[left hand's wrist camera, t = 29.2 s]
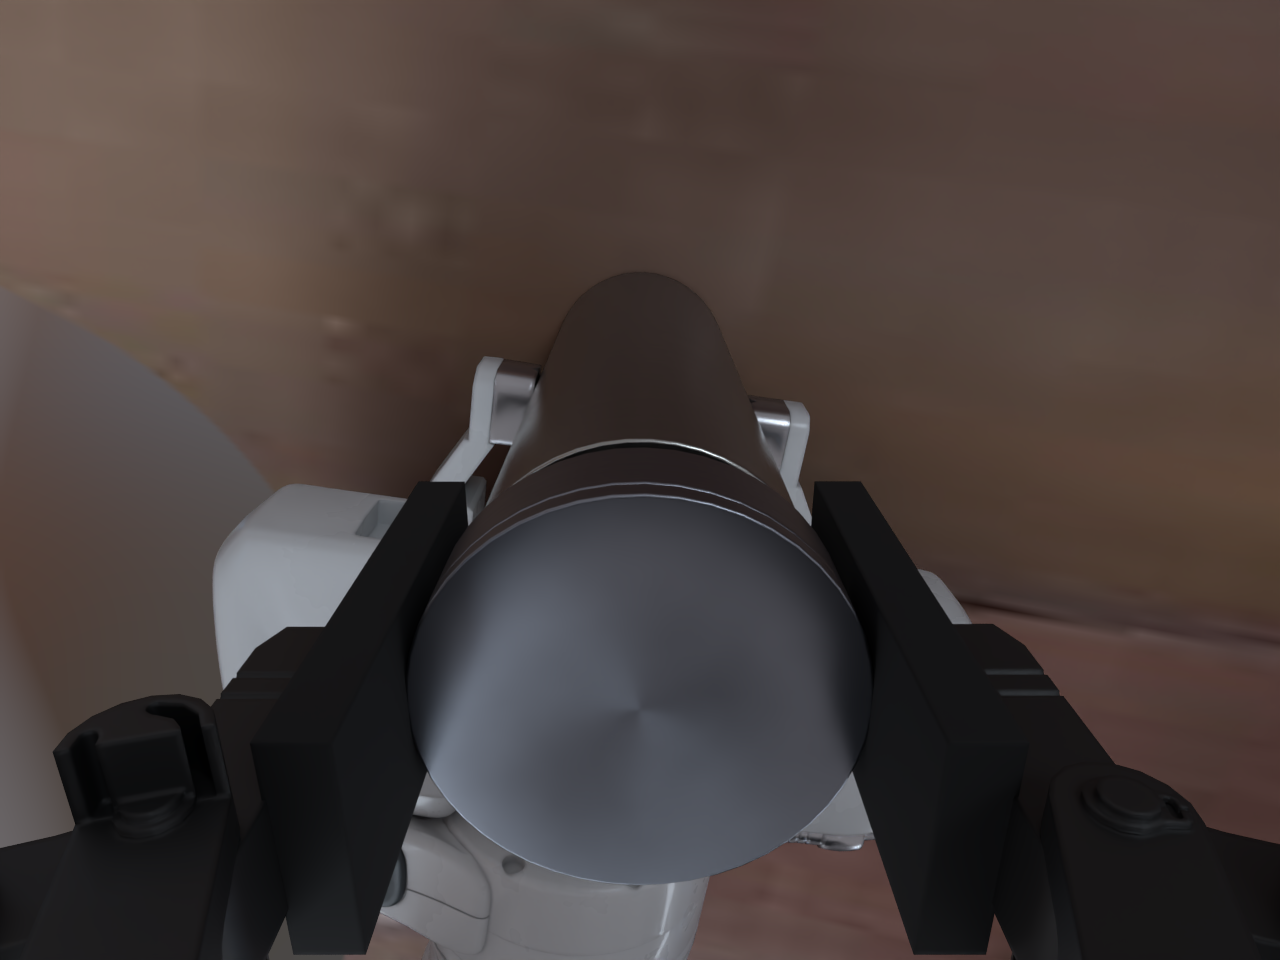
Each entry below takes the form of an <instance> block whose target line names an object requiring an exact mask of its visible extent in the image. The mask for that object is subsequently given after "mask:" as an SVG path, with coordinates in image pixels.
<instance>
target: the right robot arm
mask: <svg viewBox="0 0 1280 960" xmlns="http://www.w3.org/2000/svg"><path fill="white" fill-rule="evenodd" d="M540 376H541V365H538V364H532V363H526V362H520V361H514V360H508V359H503V358H497V357H487V356H484V357H483V359H482V360H481V361H480V363H479V364H478V366H477V369H476V373H475V378H474V383H473V390H472V402H471V415H470V427H469V428H468V429H467V431H466V432H465V433H464V435H463V436H462V437H461V438H460V440H459V441H458V442H457V444H456V445H455V446H454V448H453V449H452V450H451V452H450V453H449V454H448V456H447V457H446V458H445V460H444V461H443V462H442V464H441V465H440V466H439V468H438V469H437V470H436V472H435V474H434V475H433V477H432V478H431V480H430V482H465V491H466V503H467V515H468V526H469V524H470V523H471V522H472V521H473V520H474V519H475V518H476V517H477V516H478V515H479V514H480V513H481V512H482V510H483V509H484V508H485V496H486V483H487V481H486V480H485V479H484V477H480V476H473V475H472V474H473V472H474V471H475V470H476V468H477V467H478V466H479V464H480V463H481V462H482V460H483V459H484V458H485V456H486V455H487V454H488V453H489V451H490V450H491V449H492V447H493V446H494V444H503V445H512V442H513V440H514V438H515V435H516V433H517V431H518V428H519V426H520V423H521V421H522V419H523V416H524V414H525V412H526V409H527V407H528V405H529V402H530V400H531V397H532V395H533V393H534V390H535V388H536V386H537V383H538V381H539V379H540ZM747 396H748V398H749V400H750V403H751V405H752V408H753V410H754V412H755V415H756V417H757V419H758V422H759V424H760V426H761V429H762V431H763V434H764V436H765V438H766V441H767V443H768V445H769V448H770V450H771V453H772V455H773V457H774V460H775V462H776V464H777V467H778V469H779V472H780V474H781V476H782V479H783V481H784V483H785V486H786V488H787V491H788V493H789V495H790V498H791V500H792V502H793V505H794V507H795V509H796V510H798V511H799V513H800V514H801V515H802V516H803V517H804V518H805V520H806V521H807V522H808V523H809V524H810V526H811V521H812V517H811V514H810V511H809V508H808V505H807V502H806V499H805V496H804V493H803V491H802V488H801V486H800V483H799V481H798V479H799V475H800V470H801V466H802V462H803V458H804V453H805V449H806V445H807V440H808V436H809V432H810V415H809V413H808V411H807V410H806V408H805V407H804V405H803V403H801V402H794V401H787V400H781V399H773V398H766V397H758V396H751V395H747ZM406 501H407V499H405V498H398V497H391V496H384V495H376V494H369V493H362V492H355V491H348V490H340V489H333V488H326V487H319V486H312V485H305V484H289V485H287V486H284V487H282V488H280V489H279V490H277V491H276V492H275V493H274V494H272V495H271V496H270V497H269V498H267V499H266V500H265V501H264V502H262V503H261V504H260V505H259V506H257V507H256V508H255V509H254V510H252V511H251V512H250V513H249V514H248V515H247V516H246V517H245V518H244V519H243V520H242V521H241V522H240V523H239V524H238V525H237V526H236V527H235V529H234V530H233V531H232V532H231V533H230V534H229V535H228V537H227V538H226V539H225V541H224V542H223V544H222V546H221V547H220V549H219V551H218V553H217V556H216V559H215V562H214V568H213V611H214V623H215V635H216V644H217V653H218V660H219V667H220V674H221V680H222V686H223V690H224V689H225V687H226V686H227V685H228V684H229V682H230V681H231V680H232V678H236V676H237V672H238V670H239V669H240V668H241V666H242V665H243V664H244V662H245V661H246V660H247V658H248V657H249V656H250V654H251V653H252V652H253V650H254V649H255V648H256V647H258V646H259V645H261V644H262V643H264V642H265V641H266V640H268V639H269V638H271V637H272V636H274V635H275V634H277V633H278V632H280V631H281V630H283V629H284V628H286V627H325V626H326V624H327V623H328V621H329V620H330V618H331V616H332V615H333V613H334V612H335V610H336V609H337V607H338V606H339V604H340V603H341V601H342V599H343V598H344V596H345V595H346V593H347V592H348V590H349V589H350V587H351V586H352V584H353V582H354V581H355V579H356V578H357V576H358V575H359V573H360V572H361V570H362V569H363V567H364V565H365V564H366V562H367V561H368V559H369V558H370V556H371V555H372V553H373V552H374V550H375V548H376V547H377V545H378V544H379V542H380V541H381V539H382V538H383V536H384V535H385V533H386V531H387V530H388V528H389V527H390V525H391V524H392V522H393V521H394V519H395V518H396V516H397V514H398V513H399V511H400V510H401V508H402V507H403V505H404V504H405V502H406ZM918 571H919V573H920V574H921V576H922V577H923V579H924V580H925V582H926V583H927V585H928V586H929V588H930V590H931V591H932V593H933V594H934V596H935V597H936V599H937V600H938V602H939V603H940V605H941V607H942V608H943V610H944V611H945V613H946V614H947V616H948V617H949V619H950V620H951V622H952V624H972V622H971V621H970V619H969V617H968V615H967V614H966V612H965V610H964V609H963V608H962V606H961V605H960V603H959V602H958V601H957V599H956V598H955V597H954V595H953V594H952V593H951V592H950V590H949V589H948V588H947V586H946V585H945V584H944V583H943V581H942V580H941V579H940V578H939V577H938V576H936V575H935V574H933V573H931V572H929V571H925V570H920V569H918ZM864 840H875V838H874V835H873V832H872V829H871V826H870V823H869V820H868V817H867V814H866V811H865V808H864V805H863V802H862V799H861V796H860V793H859V790H858V787H857V784H856V781H855V778H854V775H853V772H851V774H850V776H849V778H848V779H847V781H846V783H845V785H844V786H843V787H842V789H841V790H840V791H839V793H838V794H837V795H836V796H835V798H834V799H833V800H832V802H831V803H830V804H829V806H828V807H827V808H826V809H825V810H824V811H823V812H822V813H821V814H820V815H819V816H818V817H817V818H816V819H815V820H814V821H813V822H812V823H811V824H809V825H808V826H807V827H806V828H804V829H803V830H802V831H800V832H799V833H798V834H797V835H795V836H794V837H793V838H792V839H790V840H789V841H787V842H788V843H805V844H812V845H817V846H818V847H819V848H823V849H827V850H833V851H854V850H859V849H861V848H862V846H863V844H864ZM787 842H786V843H787ZM709 878H710V876H708V877H704V878H699V879H695V880H691V881H684V882H676V883H669V884H657V885H624V884H609V883H602V882H596V881H590V880H584V879H579V878H575V877H572V876H568V875H564V874H561V873H557V872H553V871H551V870H548V869H546V868H543V867H541V866H538V865H535V864H533V863H530V862H528V861H526V860H524V859H522V858H520V857H518V856H516V855H514V854H512V853H511V852H509V851H507V850H505V849H503V848H502V847H500V846H499V845H497V844H496V843H494V842H493V841H491V840H490V839H488V838H487V837H485V836H484V835H482V834H481V833H480V832H479V831H478V830H476V829H475V828H474V827H473V826H472V825H471V824H469V823H468V822H467V821H466V820H465V819H464V818H462V817H461V815H460V814H459V813H458V812H457V811H456V810H455V809H454V808H453V807H452V806H451V804H450V803H449V802H448V801H447V800H446V799H445V798H444V796H443V795H442V793H441V792H440V791H439V789H438V788H437V786H436V785H435V783H434V782H433V780H432V779H431V778H430V776H429V774H428V772H427V774H426V777H425V780H424V783H423V786H422V788H421V791H420V794H419V797H418V800H417V803H416V806H415V809H414V812H413V815H412V818H411V821H410V824H409V827H408V830H407V833H406V836H405V839H404V842H403V845H402V848H401V851H400V854H399V857H398V860H397V863H396V866H395V869H394V872H393V875H392V878H391V881H390V884H389V887H388V890H387V893H386V896H385V899H384V902H383V905H382V907H381V910H380V913H381V914H383V915H385V916H387V917H389V918H391V919H393V920H395V921H397V922H399V923H401V924H403V925H405V926H407V927H409V928H410V929H412V930H414V931H416V932H417V933H419V934H421V935H423V936H424V937H426V938H428V939H429V942H428V944H427V946H426V949H425V952H424V954H423V957H422V960H687V958H688V955H689V953H690V950H691V948H692V945H693V942H694V939H695V935H696V931H697V927H698V923H699V919H700V915H701V911H702V907H703V902H704V898H705V894H706V890H707V886H708V882H709Z"/></svg>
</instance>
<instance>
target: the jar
mask: <svg viewBox="0 0 1280 960" xmlns="http://www.w3.org/2000/svg"><path fill="white" fill-rule="evenodd" d="M644 447H645V448H657V449H669V450H677V451H682V452H687V453H691V454H696V455H701V456H705V457H708V458H710V459H713V460H716V461H719V462H722V463H725V464H728V465H731V466H733V467H735V468H737V469H739V470H741V471H743V472H745V473H747V474H749V475H751V476H753V477H755V478H756V479H758V480H759V481H761V482H762V483H764V484H765V485H767V486H768V487H770V488H771V489H773V490H774V491H776V492H777V493H779V494H780V495H781V496H782V497H783V498H784V499H785V500H786V501H787V502H789V503H790V504H791V505H792V506H793V507H794V505H793V502H792V500H791V498H790V495H789V493H788V491H787V488H786V486H785V483H784V481H783V479H782V476H781V474H780V472H779V469H778V467H777V464H776V462H775V460H774V457H773V455H772V453H771V450H770V448H769V445H768V443H767V441H766V438H765V436H764V434H763V431H762V429H761V426H760V424H759V422H758V419H757V417H756V415H755V412H754V410H753V408H752V405H751V403H750V400H749V398H748V396H747V393H746V391H745V389H744V386H743V384H742V381H741V379H740V377H739V374H738V372H737V370H736V367H735V365H734V362H733V360H732V358H731V355H730V353H729V351H728V348H727V346H726V343H725V341H724V339H723V336H722V334H721V332H720V329H719V327H718V324H717V322H716V320H715V318H714V316H713V314H712V313H711V311H710V309H709V308H708V307H707V305H706V304H705V303H704V301H703V300H702V299H701V298H700V297H699V296H698V295H697V294H696V293H694V292H693V291H692V290H691V289H689V288H688V287H687V286H685V285H683V284H682V283H680V282H678V281H676V280H674V279H671V278H669V277H666V276H662V275H658V274H653V273H627V274H621V275H618V276H614V277H611V278H609V279H606V280H604V281H602V282H600V283H598V284H597V285H595V286H593V287H592V288H590V289H589V290H588V291H587V292H585V293H584V294H583V295H582V296H581V297H580V298H579V299H578V300H577V301H576V302H575V304H574V305H573V306H572V308H571V309H570V311H569V312H568V314H567V316H566V318H565V320H564V322H563V324H562V326H561V329H560V331H559V334H558V336H557V338H556V341H555V343H554V345H553V348H552V350H551V352H550V355H549V357H548V360H547V362H546V364H545V367H544V369H543V371H542V374H541V376H540V379H539V381H538V383H537V386H536V388H535V390H534V393H533V395H532V397H531V400H530V402H529V405H528V407H527V409H526V412H525V414H524V416H523V419H522V421H521V423H520V426H519V428H518V431H517V433H516V435H515V438H514V440H513V442H512V445H511V447H510V449H509V452H508V454H507V457H506V459H505V461H504V464H503V466H502V468H501V471H500V473H499V476H498V478H497V480H496V483H495V485H494V487H493V490H492V492H491V494H490V497H489V499H488V502H487V504H486V506H487V505H488V504H489V503H491V502H492V501H493V500H494V499H496V498H497V497H498V496H499V495H500V494H502V493H503V492H504V491H505V490H507V489H508V488H509V487H511V486H512V485H514V484H516V483H517V482H519V481H521V480H522V479H524V478H526V477H527V476H529V475H530V474H532V473H534V472H536V471H539V470H541V469H543V468H546V467H548V466H550V465H552V464H555V463H557V462H559V461H563V460H566V459H569V458H573V457H576V456H579V455H583V454H586V453H592V452H598V451H604V450H610V449H619V448H644ZM486 506H485V507H486ZM794 508H795V507H794Z"/></svg>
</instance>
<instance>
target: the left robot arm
mask: <svg viewBox="0 0 1280 960" xmlns="http://www.w3.org/2000/svg"><path fill="white" fill-rule="evenodd" d="M467 527H468V515H467V503H466V491H465V482H418V483H417V485H416V487H415V488H414V490H413V491H412V493H411V494H410V496H409V497H408V499H407V501H406V502H405V504H404V505H403V507H402V508H401V510H400V511H399V513H398V514H397V516H396V518H395V519H394V521H393V522H392V524H391V525H390V527H389V528H388V530H387V531H386V533H385V535H384V536H383V538H382V539H381V541H380V542H379V544H378V545H377V547H376V548H375V550H374V552H373V553H372V555H371V556H370V558H369V559H368V561H367V562H366V564H365V565H364V567H363V569H362V570H361V572H360V573H359V575H358V576H357V578H356V579H355V581H354V582H353V584H352V586H351V587H350V589H349V590H348V592H347V593H346V595H345V596H344V598H343V599H342V601H341V603H340V604H339V606H338V607H337V609H336V610H335V612H334V613H333V615H332V616H331V618H330V620H329V621H328V623H327V624H326V626H325V627H286V628H284V629H283V630H281V631H280V632H278V633H277V634H275V635H274V636H272V637H271V638H269V639H268V640H266V641H265V642H264V643H262V644H261V645H259V646H258V647H256V648H255V649H254V650H253V652H252V653H251V654H250V656H249V657H248V658H247V660H246V661H245V662H244V664H243V665H242V666H241V668H240V669H239V670H238V672H237V676H236V678H232V680H231V681H230V682H229V684H228V685H227V686H226V687H225V689H224V690H223V691H222V693H221V698H220V699H216V701H215V702H214V703H213V705H212V706H211V707H210V706H209V705H208V704H206V703H205V702H204V701H203V700H202V699H199V698H195V697H190V696H185V695H181V694H174V695H156V696H149V697H145V698H141V699H137V700H133V701H129V702H125V703H121V704H119V705H117V706H114V707H112V708H110V709H108V710H105V711H103V712H101V713H99V714H96V715H94V716H92V717H90V718H89V719H88V720H86V721H85V722H83V723H82V724H80V725H79V726H78V727H76V728H75V729H73V730H72V731H70V732H69V733H68V734H67V735H66V736H65V737H64V739H63V740H62V741H61V742H60V744H59V745H58V746H57V747H56V748H55V750H54V751H53V755H54V758H55V761H56V764H57V767H58V770H59V774H60V777H61V780H62V783H63V786H64V790H65V793H66V796H67V799H68V802H69V806H70V808H71V812H72V815H73V818H74V822H75V827H74V829H73V831H70V832H67V833H63V834H60V835H56V836H52V837H48V838H43V839H39V840H34V841H30V842H26V843H21V844H17V845H12V846H8V847H4V848H0V960H269V956H268V953H269V951H270V949H271V947H272V945H273V942H274V940H275V938H276V936H277V933H278V931H279V929H280V927H281V925H282V923H283V921H284V918H285V916H286V920H287V925H288V930H289V935H290V940H291V945H292V949H293V954H294V955H366V952H367V949H368V946H369V943H370V940H371V937H372V934H373V931H374V928H375V925H376V922H377V919H378V916H379V913H380V910H381V907H382V905H383V902H384V899H385V896H386V893H387V890H388V887H389V884H390V881H391V878H392V875H393V872H394V869H395V866H396V863H397V860H398V857H399V854H400V851H401V848H402V845H403V842H404V839H405V836H406V833H407V830H408V827H409V824H410V821H411V818H412V815H413V812H414V809H415V806H416V803H417V800H418V797H419V794H420V791H421V788H422V786H423V783H424V780H425V777H426V774H427V770H426V768H425V766H424V764H423V762H422V760H421V758H420V756H419V754H418V751H417V748H416V745H415V742H414V739H413V736H412V733H411V726H410V718H409V711H408V702H407V693H406V671H407V664H408V657H409V651H410V648H411V645H412V642H413V638H414V635H415V632H416V629H417V626H418V624H419V621H420V619H421V617H422V615H423V613H424V611H425V608H426V606H427V604H428V602H429V600H430V597H431V595H432V593H433V591H434V589H435V587H436V584H437V582H438V580H439V578H440V576H441V573H442V571H443V569H444V567H445V565H446V563H447V561H448V559H449V557H450V555H451V553H452V551H453V549H454V547H455V545H456V543H457V542H458V540H459V539H460V538H461V536H462V535H463V533H464V532H465V530H466V529H467ZM811 527H812V528H813V529H814V530H815V532H816V533H817V535H818V537H819V538H820V540H821V541H822V543H823V545H824V546H825V548H826V549H827V551H828V553H829V555H830V557H831V559H832V561H833V564H834V566H835V568H836V570H837V572H838V574H839V577H840V579H841V581H842V583H843V585H844V588H845V590H846V592H847V594H848V596H849V599H850V601H851V603H852V605H853V607H854V609H855V612H856V614H857V616H858V619H859V621H860V623H861V626H862V628H863V630H864V633H865V635H866V639H867V643H868V647H869V651H870V655H871V659H872V666H873V677H874V688H873V697H872V706H871V715H870V722H869V729H868V734H867V739H866V741H865V744H864V746H863V749H862V752H861V754H860V757H859V759H858V762H857V764H856V765H855V767H854V769H853V771H852V772H853V775H854V778H855V781H856V784H857V787H858V790H859V793H860V796H861V799H862V802H863V805H864V808H865V811H866V814H867V817H868V820H869V823H870V826H871V829H872V832H873V835H874V838H875V841H876V844H877V847H878V850H879V853H880V855H881V858H882V861H883V864H884V867H885V870H886V873H887V876H888V879H889V882H890V885H891V888H892V891H893V894H894V897H895V900H896V903H897V906H898V909H899V912H900V915H901V918H902V921H903V924H904V927H905V930H906V933H907V936H908V939H909V942H910V945H911V948H912V951H913V954H914V955H986V952H987V947H988V942H989V937H990V932H991V928H992V923H993V918H994V913H995V915H996V917H997V920H998V922H999V924H1000V926H1001V928H1002V930H1003V933H1004V935H1005V937H1006V939H1007V941H1008V944H1009V946H1010V948H1011V950H1012V956H1011V960H1280V844H1275V843H1271V842H1266V841H1262V840H1257V839H1253V838H1248V837H1244V836H1239V835H1235V834H1231V833H1226V832H1222V831H1219V830H1216V829H1212V828H1209V827H1206V825H1205V823H1204V822H1203V820H1202V819H1201V817H1200V816H1199V814H1198V813H1197V812H1196V810H1195V809H1194V807H1193V806H1192V804H1191V803H1190V802H1188V801H1187V800H1186V799H1185V798H1183V797H1182V796H1181V795H1180V794H1178V793H1177V792H1176V791H1175V790H1173V789H1172V788H1171V787H1170V786H1168V785H1167V784H1165V783H1163V782H1161V781H1159V780H1157V779H1155V778H1153V777H1151V776H1149V775H1147V774H1145V773H1143V772H1141V771H1137V770H1134V769H1130V768H1127V767H1123V766H1120V765H1116V764H1115V763H1114V762H1113V761H1112V759H1111V758H1110V757H1109V755H1108V754H1107V753H1106V751H1105V750H1104V749H1103V748H1102V746H1101V745H1100V744H1099V742H1098V741H1097V740H1096V738H1095V737H1094V736H1093V734H1092V733H1091V732H1090V730H1089V729H1088V728H1087V726H1086V725H1085V724H1084V723H1083V721H1082V720H1081V719H1080V717H1079V716H1078V715H1077V713H1076V712H1075V711H1074V709H1073V708H1072V707H1071V705H1070V704H1069V703H1068V702H1067V700H1066V699H1065V698H1064V696H1060V695H1059V690H1058V688H1057V687H1056V686H1055V684H1054V683H1053V682H1052V681H1051V679H1050V678H1049V677H1048V675H1044V673H1043V669H1042V667H1041V666H1040V665H1039V663H1038V662H1037V661H1036V660H1035V658H1034V657H1033V656H1032V654H1031V653H1030V652H1029V650H1028V649H1027V648H1026V646H1025V645H1024V644H1022V643H1021V642H1019V641H1018V640H1016V639H1015V638H1013V637H1012V636H1010V635H1009V634H1007V633H1006V632H1004V631H1003V630H1001V629H1000V628H998V627H997V626H995V625H994V624H952V622H951V620H950V619H949V617H948V616H947V614H946V613H945V611H944V610H943V608H942V607H941V605H940V603H939V602H938V600H937V599H936V597H935V596H934V594H933V593H932V591H931V590H930V588H929V586H928V585H927V583H926V582H925V580H924V579H923V577H922V576H921V574H920V573H919V571H918V569H917V568H916V566H915V565H914V563H913V562H912V560H911V559H910V557H909V556H908V554H907V552H906V551H905V549H904V548H903V546H902V545H901V543H900V542H899V540H898V538H897V537H896V535H895V534H894V532H893V531H892V529H891V528H890V526H889V525H888V523H887V521H886V520H885V518H884V517H883V515H882V514H881V512H880V511H879V509H878V508H877V506H876V504H875V503H874V501H873V500H872V498H871V497H870V495H869V494H868V492H867V491H866V489H865V487H864V486H863V484H862V483H861V482H815V484H814V496H813V508H812V521H811Z"/></svg>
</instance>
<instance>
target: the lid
mask: <svg viewBox="0 0 1280 960" xmlns="http://www.w3.org/2000/svg"><path fill="white" fill-rule="evenodd" d="M873 688H874V677H873V666H872V659H871V655H870V651H869V647H868V643H867V639H866V635H865V633H864V630H863V628H862V626H861V623H860V621H859V619H858V616H857V614H856V612H855V609H854V607H853V605H852V603H851V601H850V599H849V596H848V594H847V592H846V590H845V588H844V585H843V583H842V581H841V579H840V577H839V574H838V572H837V570H836V568H835V566H834V564H833V561H832V559H831V557H830V555H829V553H828V551H827V549H826V548H825V546H824V545H823V543H822V541H821V540H820V538H819V537H818V535H817V533H816V532H815V530H814V529H813V528H812V527H811V526H810V524H809V523H808V522H807V521H806V520H805V518H804V517H803V516H802V515H801V514H800V513H799V511H798V510H796V509H795V508H794V507H793V506H792V505H791V504H790V503H789V502H787V501H786V500H785V499H784V498H783V497H782V496H781V495H780V494H779V493H777V492H776V491H774V490H773V489H771V488H770V487H768V486H767V485H765V484H764V483H762V482H761V481H759V480H758V479H756V478H755V477H753V476H751V475H749V474H747V473H745V472H743V471H741V470H739V469H737V468H735V467H733V466H731V465H728V464H725V463H722V462H719V461H716V460H713V459H710V458H708V457H705V456H701V455H696V454H691V453H687V452H682V451H677V450H669V449H657V448H645V447H644V448H619V449H610V450H604V451H598V452H592V453H586V454H583V455H579V456H576V457H573V458H569V459H566V460H563V461H559V462H557V463H555V464H552V465H550V466H548V467H546V468H543V469H541V470H539V471H536V472H534V473H532V474H530V475H529V476H527V477H526V478H524V479H522V480H521V481H519V482H517V483H516V484H514V485H512V486H511V487H509V488H508V489H507V490H505V491H504V492H503V493H502V494H500V495H499V496H498V497H497V498H496V499H494V500H493V501H492V502H491V503H489V504H488V505H487V506H486V507H485V508H484V509H483V510H482V512H481V513H480V514H479V515H478V516H477V517H476V518H475V519H474V520H473V521H472V522H471V523H470V524H469V526H468V527H467V529H466V530H465V532H464V533H463V535H462V536H461V538H460V539H459V540H458V542H457V543H456V545H455V547H454V549H453V551H452V553H451V555H450V557H449V559H448V561H447V563H446V565H445V567H444V569H443V571H442V573H441V576H440V578H439V580H438V582H437V584H436V587H435V589H434V591H433V593H432V595H431V597H430V600H429V602H428V604H427V606H426V608H425V611H424V613H423V615H422V617H421V619H420V621H419V624H418V626H417V629H416V632H415V635H414V638H413V642H412V645H411V648H410V651H409V657H408V664H407V671H406V693H407V702H408V711H409V718H410V726H411V733H412V736H413V739H414V742H415V745H416V748H417V751H418V754H419V756H420V758H421V760H422V762H423V764H424V766H425V768H426V770H427V772H428V774H429V776H430V778H431V779H432V780H433V782H434V783H435V785H436V786H437V788H438V789H439V791H440V792H441V793H442V795H443V796H444V798H445V799H446V800H447V801H448V802H449V803H450V804H451V806H452V807H453V808H454V809H455V810H456V811H457V812H458V813H459V814H460V815H461V817H462V818H464V819H465V820H466V821H467V822H468V823H469V824H471V825H472V826H473V827H474V828H475V829H476V830H478V831H479V832H480V833H481V834H482V835H484V836H485V837H487V838H488V839H490V840H491V841H493V842H494V843H496V844H497V845H499V846H500V847H502V848H503V849H505V850H507V851H509V852H511V853H512V854H514V855H516V856H518V857H520V858H522V859H524V860H526V861H528V862H530V863H533V864H535V865H538V866H541V867H543V868H546V869H548V870H551V871H553V872H557V873H561V874H564V875H568V876H572V877H575V878H579V879H584V880H590V881H596V882H602V883H609V884H624V885H657V884H669V883H676V882H684V881H691V880H695V879H699V878H704V877H708V876H712V875H716V874H719V873H722V872H725V871H728V870H731V869H734V868H737V867H739V866H742V865H745V864H747V863H749V862H751V861H753V860H755V859H757V858H759V857H761V856H764V855H766V854H768V853H769V852H771V851H773V850H774V849H776V848H777V847H779V846H781V845H782V844H784V843H786V842H787V841H789V840H790V839H792V838H793V837H794V836H795V835H797V834H798V833H799V832H800V831H802V830H803V829H804V828H806V827H807V826H808V825H809V824H811V823H812V822H813V821H814V820H815V819H816V818H817V817H818V816H819V815H820V814H821V813H822V812H823V811H824V810H825V809H826V808H827V807H828V806H829V804H830V803H831V802H832V800H833V799H834V798H835V796H836V795H837V794H838V793H839V791H840V790H841V789H842V787H843V786H844V785H845V783H846V781H847V779H848V778H849V776H850V774H851V772H852V771H853V769H854V767H855V765H856V764H857V762H858V759H859V757H860V754H861V752H862V749H863V746H864V744H865V741H866V739H867V734H868V729H869V722H870V715H871V706H872V697H873Z"/></svg>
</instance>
